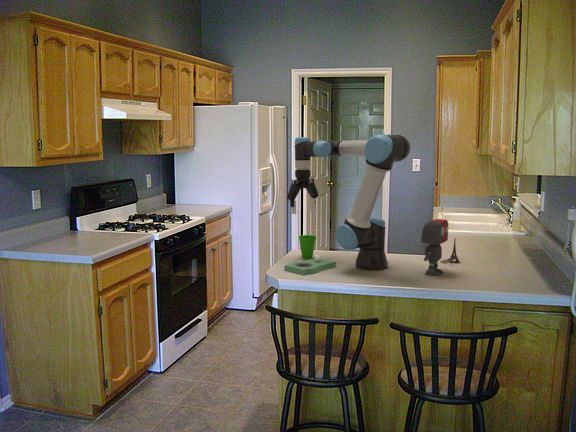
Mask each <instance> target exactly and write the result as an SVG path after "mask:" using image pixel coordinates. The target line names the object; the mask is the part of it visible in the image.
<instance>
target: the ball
mask: <svg viewBox="0 0 576 432" xmlns="http://www.w3.org/2000/svg"><path fill="white" fill-rule="evenodd" d="M314 259H315V261H316V262H319V261H321V259H322V256H321V255H320V254H316V255H314Z"/></svg>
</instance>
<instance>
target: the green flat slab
mask: <svg viewBox="0 0 576 432" xmlns="http://www.w3.org/2000/svg"><path fill="white" fill-rule="evenodd" d="M314 258H315V257H314ZM314 258H313V257H312V259H304V260H301V261H293V262H289V263H287V264H285V265H284V271H285V272H290V273H293V274H297V275H301V276H306V275H313V274H316V273H320V272H321V271H322V272H323V271H326V270H329V269H333V268H336V267H337V261H333V260H330V259H325V258H321V261H319V262H316V261H315V259H314Z"/></svg>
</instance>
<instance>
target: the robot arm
mask: <svg viewBox="0 0 576 432" xmlns="http://www.w3.org/2000/svg"><path fill="white" fill-rule="evenodd" d="M410 152H411V145H410V142H409V139H408V138H407V137H405V136H404V135H401V134H385V133H381V134H380V133H379V134H376V135H373V136H371V137H369V138H368V139H359V140H358V139H357V140H356V139H355V140H352V139H351V140H312V141H311V138H310V137H309V136H304V137H303V136H301V137H300V136H299V137H295V139H294V163H295V164H294V169H295V170H294V177H295V179H291V182H290V187H289V190H288V193H287V196H286V199H287V200H288V201H290V205H289V206H290V214H291V215H296V214H297V200H296V198H297V197H298V195H299V193H300V191H301V190H302V189H305V190H306V191H307V193H308V194H309V211H310V212H316V202H317V201H316V200H317V199H318V197H319V192H318V190H317V186H316V184H315V178H311V170H310V169H311V167H312V166H311V158H325V157H326V158H327V157H365V164H366V166H367V167H366V168H365V172H364V174H363V177H362V180H361V183H360V186H359V189H358V192H357V195H356V198H355V201H354V204H353V207H352V210H351V212H350V214H348V215H347V216H346V217H345V219H344V222H343V224H339V226H337V228H336V230H335V238H336V240H337V243H338V245H339V246H340V247H341V248H342V249H344V250H346V251H347V250H357V249H359V250H358V253H357V256H356V259H355V267H356V268H358V269H361V270H368V271H381V270H385V269H387V268H388V266H389V261H388V259H387V254H386V252H385V251H386V249H385V247H386V246H385V245H386V244H385V243H386V222H385V220H384V219H381V218H375V217H371V216H372V214H373V210H374V208H375V205H376V202H377V200H378V197H379V194H380V192H381V188H382V186H383V182H384V180H385V178H386V175H387V173H388V172H390V171H392V169H393V165H394V163H396V162H397V163H398V162H402V161H404V160H405V159H406V158H407V157H408V156H409V155H410V154H411V153H410Z"/></svg>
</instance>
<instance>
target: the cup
mask: <svg viewBox="0 0 576 432" xmlns="http://www.w3.org/2000/svg"><path fill="white" fill-rule="evenodd" d="M298 239H299V245H300V253H301V258H302V259H303V260H309V259H313V256H314V251H315V244H316V239H317V236H316V235H312V234H302V235H298Z"/></svg>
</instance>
